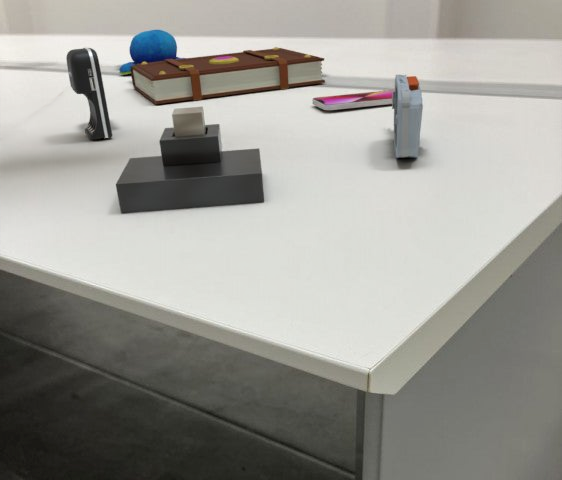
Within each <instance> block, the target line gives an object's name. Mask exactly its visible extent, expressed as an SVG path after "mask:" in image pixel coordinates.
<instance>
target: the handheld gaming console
mask: <svg viewBox="0 0 562 480" xmlns="http://www.w3.org/2000/svg"><path fill="white" fill-rule="evenodd" d="M391 90H392V91H393V90H395V91H393V93H392V104H391V110H393V145H394V156H395V159H408V160H409V159H411V158H414V159H415V158H419V151H420V144H421V129H422V120H423V119H422V118H423V109H424V104H423V96H422V89H421V86H420V82H419V80H418V77H417V76H416V75H415V76H414V75H413V76H407V74H395V77H394V89H391Z"/></svg>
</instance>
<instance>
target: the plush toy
mask: <svg viewBox="0 0 562 480" xmlns="http://www.w3.org/2000/svg"><path fill="white" fill-rule="evenodd" d="M177 53H178V44H177V41H176V39H175V36H173V35H172V34H171V33H169V32H168V31H165V30H162V29H151V30H150V29H149V30H145V31H142V32H139V33H138V34H136V35H134V36H133V37H132V39H131V41H130V45H129V55H130V58H131V60H132V61H129V62H126V63H124V64H122V65H121V66H120V67H119V74H120V75H128V74H131V70H130V66H133V65H135V64H140V63H142V62H147V63H149V62H158V61H164V60H165V59H174V60H176V59H185V58H186V57H179V56H178V55H177Z"/></svg>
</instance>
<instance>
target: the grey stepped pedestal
mask: <svg viewBox="0 0 562 480" xmlns="http://www.w3.org/2000/svg"><path fill="white" fill-rule="evenodd" d="M205 128H206V133H205V135H191V136H178V137H175V133H174V126H173V127H164V128H163V132H162V134H161V136H160V139H159V140H158V141H159V147H160V155H155V156H142V157H140V156H139V157H130V158H129V159H128V161H127V163H126V165H125V167H124V168H123V170H122V171H121V174H120V175H119V177H118V179H117V181H116V182H115V189H116V194H117V198H118V204H119V210H120V213H121V214H133V213H147V212H159V211H171V210H172V211H173V210H183V209H196V208H197V209H199V208H210V207H224V206H225V207H226V206H236V205H237V206H238V205H248V204H250V205H251V204H261V203H265V194H264V181H263V180H264V179H263V170H262V160H261V152H260V151H261V150H260V148H247V149H235V150H233V149H232V150H223V144H222V135H221V126H220V124H219V123H213V124H205Z"/></svg>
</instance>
